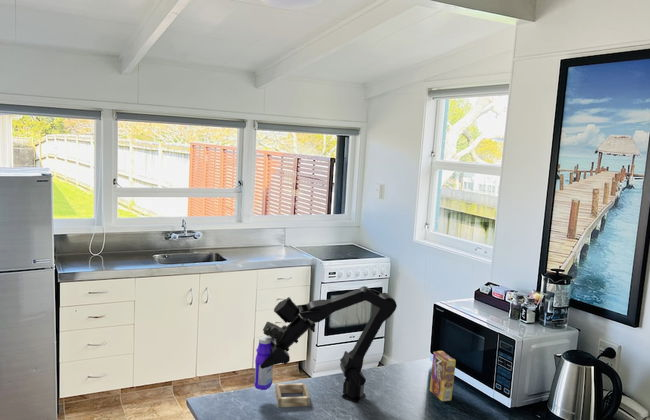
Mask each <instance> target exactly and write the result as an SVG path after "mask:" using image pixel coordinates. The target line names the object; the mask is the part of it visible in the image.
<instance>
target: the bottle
mask: <svg viewBox="0 0 650 420" xmlns="http://www.w3.org/2000/svg"><path fill="white" fill-rule="evenodd" d="M270 348H271V349H272V347H271V337H268V336H267V335H263V336H260V337H259V338H258V346H257V348H256V354H255V361H254V363H255V366H254V382H253V383H254V384H253V385H254V387H255V389H257V390H260V391H266V390H268V389H270V387H271V386H272V384H273V372H274V371H273V370H274V367H273V366H274V365H273V366H270V367H266V368H263V369H262V368H261V367H260V366H261V364H262V363H263V362H264V361H265V359H266V358H267V357H268V356H269V355H270Z"/></svg>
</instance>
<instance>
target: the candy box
mask: <svg viewBox="0 0 650 420" xmlns="http://www.w3.org/2000/svg"><path fill="white" fill-rule="evenodd" d="M456 361H457V360H456V359H455V358H453V357H452V356H450V355H449V354H447V353H446V352H445V351H443V350H437V351H433V355H432V366H431V372H430V373H431V376H430V385H429V391H430V392H431V393H432V395H434V396H436V398H438V400H440V401H441V402H449V401H452V398H453V388H454V381H455V373H456V372H455V370H456Z"/></svg>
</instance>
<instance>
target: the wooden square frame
mask: <svg viewBox="0 0 650 420" xmlns="http://www.w3.org/2000/svg"><path fill="white" fill-rule="evenodd" d="M308 390H309V389H308V388H307V385H306V382H302V383H301V382H300V383H299V382H297V383H276V384H275V386H274V393H275V399H276V402H277V403H276V404H277V407H278V408H291V407H292V408H293V407H310V404H311V397H310V393H309V391H308ZM297 393H298V394H299V393H302V395H303V396H284V397H282V394H297Z"/></svg>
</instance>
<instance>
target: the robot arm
mask: <svg viewBox="0 0 650 420" xmlns="http://www.w3.org/2000/svg"><path fill="white" fill-rule="evenodd" d="M362 302H363V303H364V302H367V303H370V304H372V305H373V307H372V310H371V311H372V313H371V316H370V317H369V319H368V322H367V323H366V325H365V327H364V329H363V330H362V332H361V334H360V336H359V337H358V339H357V341H356V343H355V345H354V347H353V349H351V350H350V351H346V350H345V351H344V352H343V356H342V357H341V358H340V359H339V363H340V364H339V366H340V370H341V372H342V374H343V376H344V377H345V379H344V382H343V385H342V395H341V398H344V399H346V400H350V401H353V402H356V403H359V402H360V401H361V400H362V399H363V398H364V397H365V396H366V393H365V391H364V390H365V383H366V381H367V379H366V377H365V375H364V374H363V372H362V369H363V366H364V358H365V356H366V354H367V353H368V351H369V349H370V347H371V345H372V343H373V341H374V340H375V338H376V336H377V334H378V333H379V330H380V328H381V327H382V326H383V324H384V322H386V321H387V320H388V319H389V318H390V317H391V316H393V313H395V311H396V310H397V307H398V306H397V302H396V300H395V299H394V298H393V297H392V295H390V294H389V293H387V292H380V291H377V290H374V289H371V288H369V287H368V286H365V285H363V286H361V287H358V288H356V289H354V290H351V291H348V292H346V293H343V294H339V295H337V296H335V297H332V298H329V299H328V298H327V299H318V300H317V299H316V300H312V301H309V302H308V303H305V304H299V305H296V303H295V302H293V300H292V299H291V297H289V296H288V297H287V298H286V299H285V298H284V299H283V300H280V301H279V302H278V303H277V304H276V305H275V306H274V309H273V312H274V313H275V314H276V315H277V316H278V317H279V318H280V319H281V320H282V321H283V322H284V323H289V324H288V325H286V324H285V325H282V326H281V327H280V326H279V325H277V324H274V323H273V322H270V321H266V323H265V325H264V327H263V328H262V331H263V334H264V336H268V337H271V347H272V349H271V348H270V355H269V356H268V357H267V358H266V359H265V361H264V362H263V363H262V364H261V366H260V367H261V368H262V369H263V368H266V367H270V366H276V365H279V364H283V365H285V366H286V365H287V364H288V363H289V362H290V360H291V359H290V358H291V357H290V353H289V351H290V347H291V346H293V344H294V343H295V344H298V343H299V339H300V338H301V337H302V336H303V335H304V334H305V333H306V332H307V331H308V330H309V329H310V330H311V332H312V333H315V332H316V328H315V327H316V324H317V323H321V322H322V321H324V320H325V319H327V318H329V317H330V316H331V315H332V314H334V313H335V312H337V311H340V310H343V309H345V308H349V307H351V306H353V305H358V304H359V303H362Z"/></svg>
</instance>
